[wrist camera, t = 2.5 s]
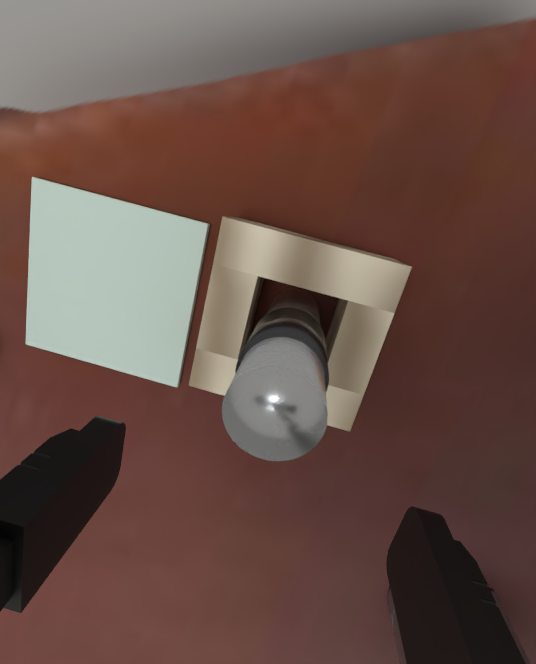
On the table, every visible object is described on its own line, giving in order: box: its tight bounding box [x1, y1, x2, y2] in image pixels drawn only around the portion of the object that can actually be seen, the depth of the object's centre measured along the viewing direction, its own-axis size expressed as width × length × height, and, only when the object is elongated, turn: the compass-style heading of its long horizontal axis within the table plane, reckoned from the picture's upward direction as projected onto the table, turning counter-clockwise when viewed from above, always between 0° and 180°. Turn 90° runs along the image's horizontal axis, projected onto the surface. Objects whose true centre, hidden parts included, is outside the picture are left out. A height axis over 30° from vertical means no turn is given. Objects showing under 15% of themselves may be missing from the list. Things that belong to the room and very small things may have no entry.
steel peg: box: [222, 288, 329, 461], centre depth 21 cm, size 4×4×16 cm
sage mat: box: [26, 177, 210, 387], centre depth 30 cm, size 14×14×1 cm
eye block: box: [189, 217, 412, 431], centre depth 26 cm, size 12×12×5 cm
